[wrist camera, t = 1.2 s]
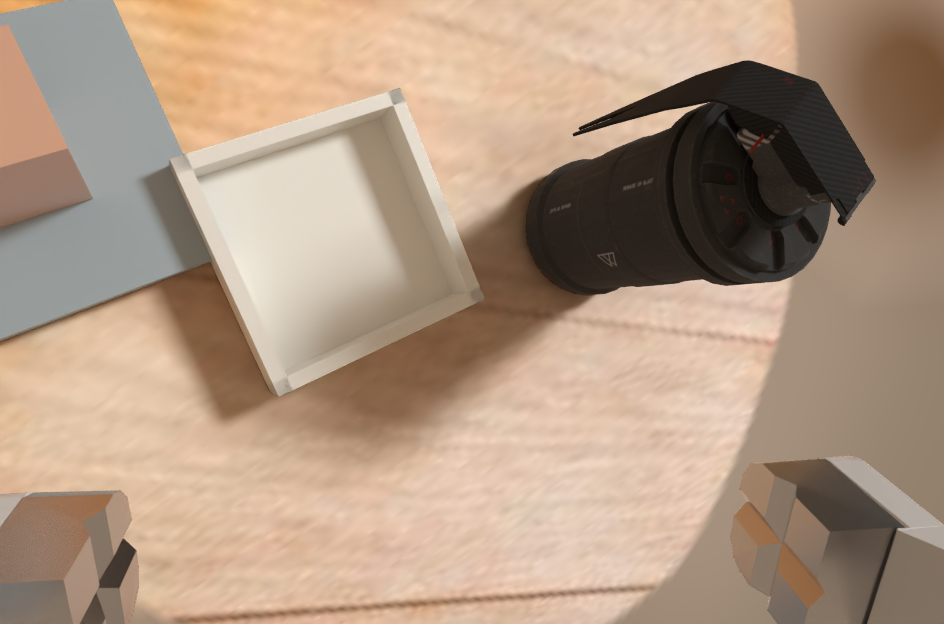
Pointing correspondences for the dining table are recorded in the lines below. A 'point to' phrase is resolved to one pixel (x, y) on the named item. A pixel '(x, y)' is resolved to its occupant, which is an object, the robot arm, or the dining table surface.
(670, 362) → the dining table surface
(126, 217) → the plate
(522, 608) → the dining table surface
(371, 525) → the dining table surface
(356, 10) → the dining table surface
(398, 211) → the box
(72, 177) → the tall salmon pillar
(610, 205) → the grenade
